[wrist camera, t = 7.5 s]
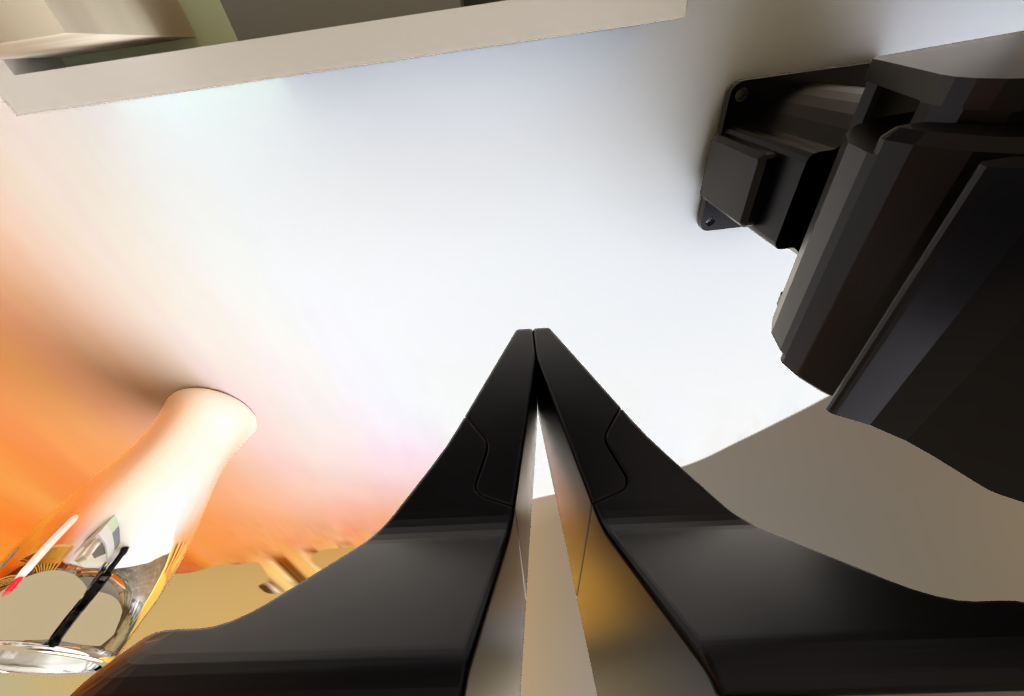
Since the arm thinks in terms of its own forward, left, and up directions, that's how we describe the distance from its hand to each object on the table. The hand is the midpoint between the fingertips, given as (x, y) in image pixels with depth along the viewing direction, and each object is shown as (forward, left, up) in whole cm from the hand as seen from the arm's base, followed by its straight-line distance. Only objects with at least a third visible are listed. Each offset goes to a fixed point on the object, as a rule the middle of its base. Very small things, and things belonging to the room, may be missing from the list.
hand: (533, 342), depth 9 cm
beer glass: (+25, +14, -12) cm, 31 cm away
